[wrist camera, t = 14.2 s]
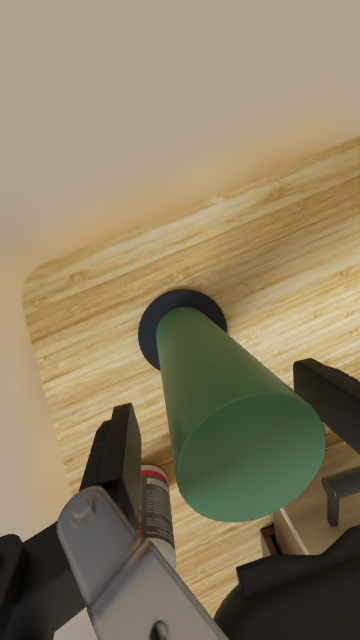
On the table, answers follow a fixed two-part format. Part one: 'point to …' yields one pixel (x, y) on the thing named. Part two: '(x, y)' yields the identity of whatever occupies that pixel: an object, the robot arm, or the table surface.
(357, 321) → the table surface
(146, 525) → the pill bottle
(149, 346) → the coaster
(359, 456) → the drawer
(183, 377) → the tin
